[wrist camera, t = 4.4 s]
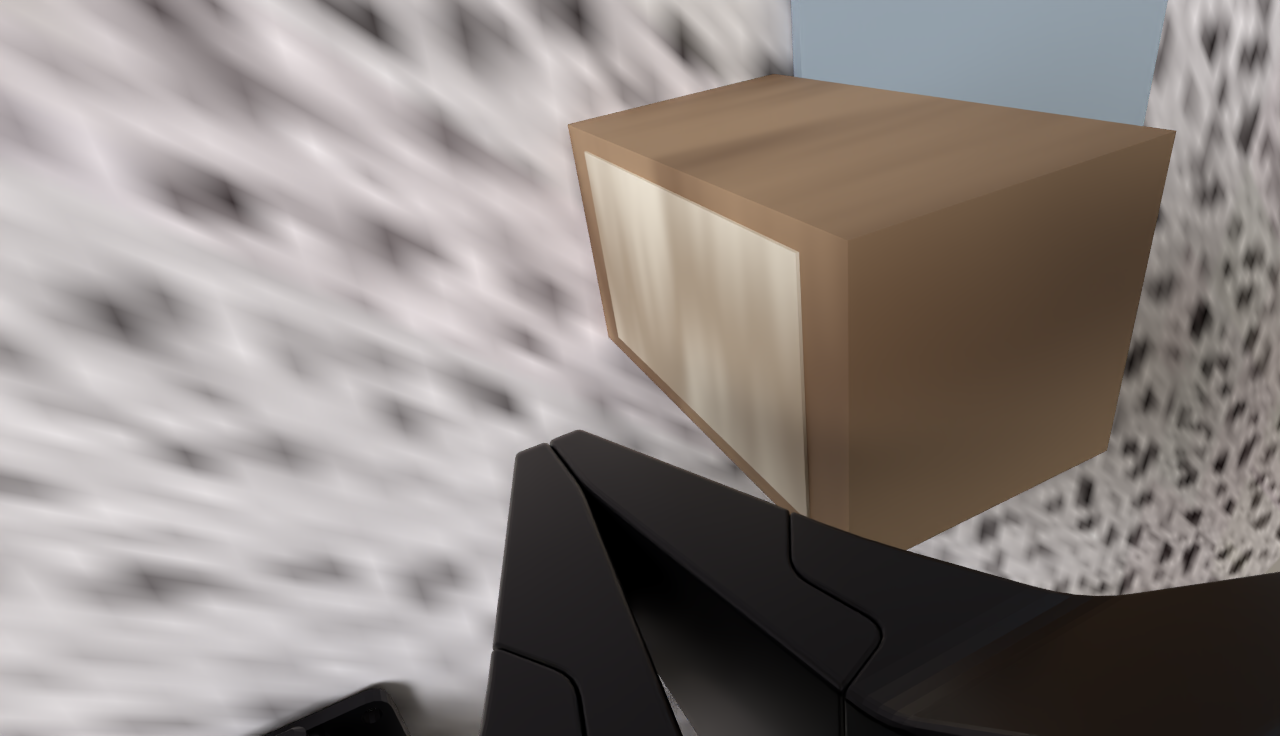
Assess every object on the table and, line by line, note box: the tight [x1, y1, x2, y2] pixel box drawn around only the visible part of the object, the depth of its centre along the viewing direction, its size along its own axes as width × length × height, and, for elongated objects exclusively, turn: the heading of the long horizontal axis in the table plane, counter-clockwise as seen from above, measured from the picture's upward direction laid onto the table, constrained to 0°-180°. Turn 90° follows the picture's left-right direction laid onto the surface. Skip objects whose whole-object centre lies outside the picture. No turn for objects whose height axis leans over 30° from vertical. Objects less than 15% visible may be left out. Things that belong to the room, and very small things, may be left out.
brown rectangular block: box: [568, 74, 1176, 550], centre depth 13 cm, size 5×5×9 cm
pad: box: [791, 0, 1168, 126], centre depth 19 cm, size 16×12×1 cm
